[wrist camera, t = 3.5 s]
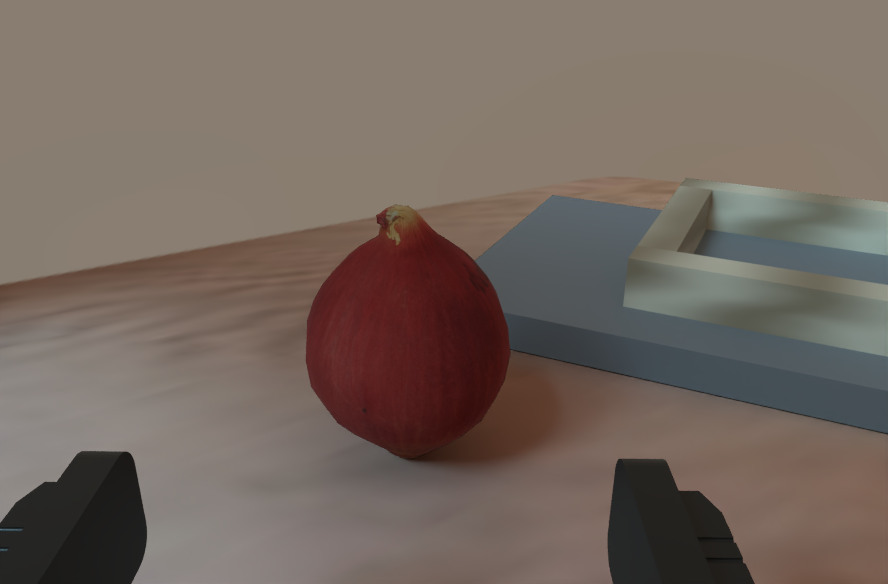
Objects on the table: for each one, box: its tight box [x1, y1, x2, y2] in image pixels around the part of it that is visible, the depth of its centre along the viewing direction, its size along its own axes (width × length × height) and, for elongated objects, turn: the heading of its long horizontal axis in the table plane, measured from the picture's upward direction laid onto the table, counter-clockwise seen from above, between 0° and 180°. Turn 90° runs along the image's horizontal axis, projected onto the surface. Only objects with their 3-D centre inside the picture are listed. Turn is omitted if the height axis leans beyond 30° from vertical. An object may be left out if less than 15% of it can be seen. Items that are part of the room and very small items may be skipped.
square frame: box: [623, 178, 888, 357], centre depth 33 cm, size 12×12×2 cm
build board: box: [475, 195, 888, 433], centre depth 34 cm, size 20×15×2 cm
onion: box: [306, 205, 510, 459], centre depth 23 cm, size 6×6×8 cm
